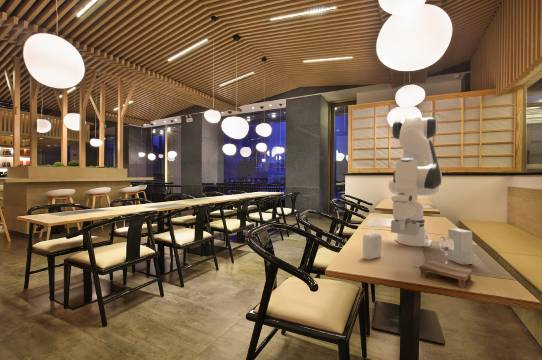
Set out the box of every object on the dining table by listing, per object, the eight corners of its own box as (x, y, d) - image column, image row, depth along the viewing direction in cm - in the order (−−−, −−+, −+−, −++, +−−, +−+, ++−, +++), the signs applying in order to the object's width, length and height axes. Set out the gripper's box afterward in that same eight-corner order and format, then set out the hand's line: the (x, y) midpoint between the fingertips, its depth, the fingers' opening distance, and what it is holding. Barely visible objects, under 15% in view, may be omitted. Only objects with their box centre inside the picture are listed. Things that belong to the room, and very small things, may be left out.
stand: (428, 269, 113) (428, 259, 113) (472, 279, 102) (472, 269, 102) (418, 276, 105) (419, 266, 105) (465, 288, 94) (465, 277, 94)
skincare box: (473, 264, 120) (474, 231, 119) (460, 264, 119) (461, 231, 119) (459, 258, 128) (460, 227, 128) (446, 258, 128) (447, 227, 127)
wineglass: (435, 263, 120) (436, 237, 120) (444, 262, 123) (444, 236, 122) (448, 267, 115) (449, 240, 115) (457, 266, 117) (457, 239, 117)
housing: (394, 230, 119) (394, 217, 119) (419, 234, 113) (419, 220, 113) (390, 232, 116) (391, 218, 116) (416, 236, 109) (416, 221, 109)
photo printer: (374, 254, 133) (375, 229, 133) (382, 257, 129) (382, 231, 129) (361, 258, 127) (361, 232, 127) (368, 260, 124) (369, 233, 123)
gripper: (404, 194, 124) (403, 223, 124) (390, 196, 108) (389, 230, 109) (419, 195, 120) (419, 225, 120) (407, 197, 104) (406, 233, 105)
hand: (404, 228), depth 114 cm, fingers closed on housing, 4 cm apart
